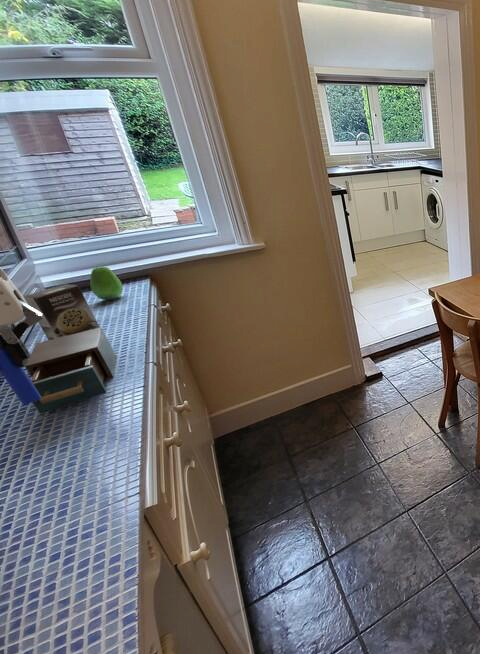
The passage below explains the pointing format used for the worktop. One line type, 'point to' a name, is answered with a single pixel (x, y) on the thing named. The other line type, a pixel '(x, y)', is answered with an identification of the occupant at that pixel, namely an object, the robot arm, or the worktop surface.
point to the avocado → (105, 283)
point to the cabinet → (74, 350)
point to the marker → (16, 377)
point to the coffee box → (62, 311)
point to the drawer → (68, 381)
